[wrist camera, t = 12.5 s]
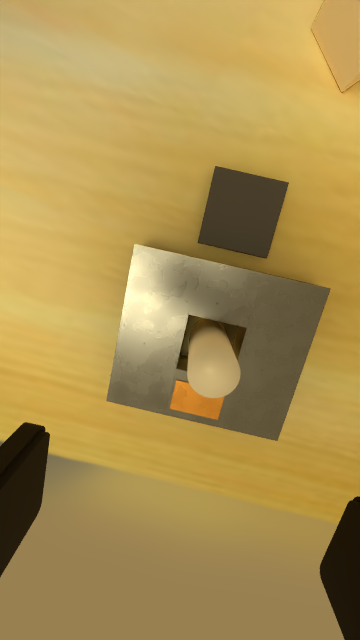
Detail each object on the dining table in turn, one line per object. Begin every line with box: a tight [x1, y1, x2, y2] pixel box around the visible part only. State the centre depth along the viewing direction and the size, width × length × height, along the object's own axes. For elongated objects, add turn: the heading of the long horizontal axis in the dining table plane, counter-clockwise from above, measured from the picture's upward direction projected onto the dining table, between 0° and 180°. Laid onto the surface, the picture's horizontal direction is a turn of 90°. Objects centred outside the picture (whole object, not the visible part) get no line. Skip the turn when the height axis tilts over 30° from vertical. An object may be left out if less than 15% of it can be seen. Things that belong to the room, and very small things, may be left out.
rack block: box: [107, 244, 330, 441], centre depth 29 cm, size 16×18×4 cm
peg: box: [187, 319, 241, 398], centre depth 26 cm, size 4×4×10 cm
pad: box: [198, 166, 289, 258], centre depth 27 cm, size 7×7×1 cm
